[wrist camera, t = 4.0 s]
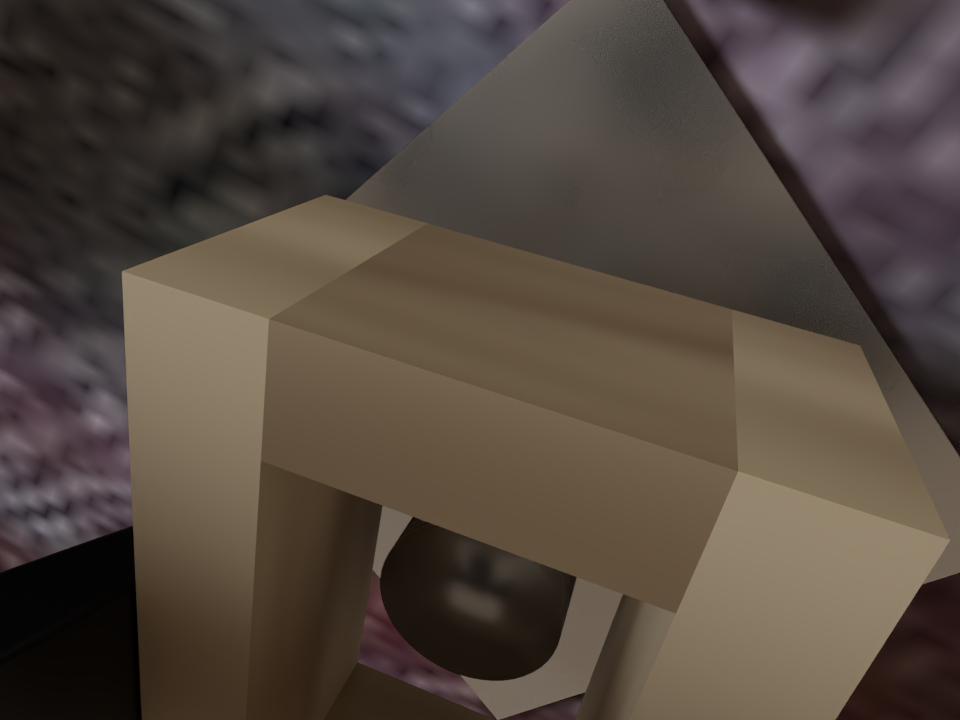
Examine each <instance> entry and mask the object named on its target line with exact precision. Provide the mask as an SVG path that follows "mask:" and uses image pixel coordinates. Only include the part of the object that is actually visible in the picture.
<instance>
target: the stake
mask: <svg viewBox="0 0 960 720" xmlns="http://www.w3.org/2000/svg"><path fill="white" fill-rule="evenodd" d="M346 201H350V202H353V203H357V204H360V205H364V206H367V207H371V208H374V209H378V210H382V211H385V212H389V213H392V214H396V215H399V216H403V217H406V218H410V219H413V220H417V221H421V222H424V223H428V224H431V225H435V226H438V227H442V228H445V229H449V230H452V231H456V232H460V233H463V234H467V235H470V236H474V237H477V238H481V239H484V240H488V241H491V242H495V243H498V244H502V245H506V246H509V247H513V248H516V249H520V250H523V251H527V252H530V253H534V254H537V255H541V256H545V257H548V258H552V259H555V260H559V261H562V262H566V263H569V264H573V265H576V266H580V267H583V268H587V269H591V270H594V271H598V272H601V273H605V274H608V275H612V276H615V277H619V278H622V279H626V280H630V281H633V282H637V283H640V284H644V285H647V286H651V287H654V288H658V289H661V290H665V291H668V292H672V293H676V294H679V295H683V296H686V297H690V298H693V299H697V300H700V301H704V302H707V303H711V304H715V305H718V306H722V307H725V308H729V309H732V310H736V311H739V312H743V313H746V314H750V315H753V316H757V317H761V318H764V319H768V320H771V321H775V322H778V323H782V324H785V325H789V326H792V327H796V328H800V329H803V330H807V331H810V332H814V333H817V334H821V335H824V336H828V337H831V338H835V339H838V340H842V341H846V342H849V343H853V344H856V345H860V346H861V349H862V351H863V353H864V355H865V357H866V359H867V362H868V364H869V366H870V368H871V370H872V372H873V374H874V377H875V379H876V381H877V383H878V385H879V387H880V390H881V392H882V394H883V396H884V398H885V400H886V403H887V405H888V407H889V409H890V411H891V413H892V415H893V418H894V420H895V422H896V424H897V426H898V428H899V431H900V433H901V435H902V437H903V439H904V441H905V444H906V446H907V448H908V450H909V452H910V454H911V456H912V459H913V461H914V463H915V465H916V467H917V469H918V472H919V474H920V476H921V478H922V480H923V482H924V485H925V487H926V489H927V491H928V493H929V495H930V497H931V500H932V502H933V504H934V506H935V508H936V510H937V513H938V515H939V517H940V519H941V521H942V523H943V526H944V528H945V530H946V532H947V534H948V536H949V538H950V542H949V543H948V545H947V546H946V548H945V549H944V551H943V552H942V554H941V556H940V557H939V559H938V560H937V562H936V563H935V565H934V567H933V568H932V570H931V571H930V573H929V574H928V576H927V577H926V579H925V581H924V582H923V584H925V583H929V582H932V581H935V580H938V579H941V578H944V577H947V576H950V575H954V574H957V573H960V456H959V454H958V452H957V451H956V449H955V448H954V446H953V445H952V443H951V442H950V440H949V439H948V437H947V436H946V434H945V432H944V431H943V429H942V428H941V426H940V425H939V423H938V422H937V420H936V419H935V417H934V415H933V414H932V412H931V411H930V409H929V408H928V406H927V405H926V403H925V402H924V400H923V399H922V397H921V395H920V394H919V392H918V391H917V389H916V388H915V386H914V385H913V383H912V382H911V380H910V379H909V377H908V375H907V374H906V372H905V371H904V369H903V368H902V366H901V365H900V363H899V362H898V360H897V358H896V357H895V355H894V354H893V352H892V351H891V349H890V348H889V346H888V345H887V343H886V342H885V340H884V338H883V337H882V335H881V334H880V332H879V331H878V329H877V328H876V326H875V325H874V323H873V322H872V320H871V318H870V317H869V315H868V314H867V312H866V311H865V309H864V308H863V306H862V305H861V303H860V301H859V300H858V298H857V297H856V295H855V294H854V292H853V291H852V289H851V288H850V286H849V285H848V283H847V281H846V280H845V278H844V277H843V275H842V274H841V272H840V271H839V269H838V268H837V266H836V265H835V263H834V261H833V260H832V258H831V257H830V255H829V254H828V252H827V251H826V249H825V248H824V246H823V244H822V243H821V241H820V240H819V238H818V237H817V235H816V234H815V232H814V231H813V229H812V228H811V226H810V224H809V223H808V221H807V220H806V218H805V217H804V215H803V214H802V212H801V211H800V209H799V207H798V206H797V204H796V203H795V201H794V200H793V198H792V197H791V195H790V194H789V192H788V191H787V189H786V187H785V186H784V184H783V183H782V181H781V180H780V178H779V177H778V175H777V174H776V172H775V171H774V169H773V167H772V166H771V164H770V163H769V161H768V160H767V158H766V157H765V155H764V154H763V152H762V150H761V149H760V147H759V146H758V144H757V143H756V141H755V140H754V138H753V137H752V135H751V134H750V132H749V130H748V129H747V127H746V126H745V124H744V123H743V121H742V120H741V118H740V117H739V115H738V114H737V112H736V110H735V109H734V107H733V106H732V104H731V103H730V101H729V100H728V98H727V97H726V95H725V93H724V92H723V90H722V89H721V87H720V86H719V84H718V83H717V81H716V80H715V78H714V77H713V75H712V73H711V72H710V70H709V69H708V67H707V66H706V64H705V63H704V61H703V60H702V58H701V57H700V55H699V53H698V52H697V50H696V49H695V47H694V46H693V44H692V43H691V41H690V40H689V38H688V36H687V35H686V33H685V32H684V30H683V29H682V27H681V26H680V24H679V23H678V21H677V20H676V18H675V16H674V15H673V13H672V12H671V10H670V9H669V7H668V6H667V4H666V3H665V1H664V0H570V1H569V2H568V3H566V4H565V5H564V6H563V7H562V8H561V9H560V10H559V11H557V12H556V13H555V14H554V15H553V16H552V17H551V18H550V19H548V20H547V21H546V22H545V23H544V24H543V25H542V26H541V27H539V28H538V29H537V30H536V31H535V32H534V33H533V34H532V35H530V36H529V37H528V38H527V39H526V40H525V41H524V42H523V43H521V44H520V45H519V46H518V47H517V48H516V49H515V50H514V51H512V52H511V53H510V54H509V55H508V56H507V57H506V58H505V59H503V60H502V61H501V62H500V63H499V64H498V65H497V66H496V67H494V68H493V69H492V70H491V71H490V72H489V73H488V74H487V75H486V76H484V77H483V78H482V79H481V80H480V81H479V82H478V83H477V84H475V85H474V86H473V87H472V88H471V89H470V90H469V91H468V92H466V93H465V94H464V95H463V96H462V97H461V98H460V99H459V100H457V101H456V102H455V103H454V104H453V105H452V106H451V107H450V108H448V109H447V110H446V111H445V112H444V113H443V114H442V115H441V116H439V117H438V118H437V119H436V120H435V121H434V122H433V123H432V124H430V125H429V126H428V127H427V128H426V129H425V130H424V131H423V132H421V133H420V134H419V135H418V136H417V137H416V138H415V139H414V140H412V141H411V142H410V143H409V144H408V145H407V146H406V147H405V148H403V149H402V150H401V151H400V152H399V153H398V154H397V155H396V156H394V157H393V158H392V159H391V160H390V161H389V162H388V163H387V164H385V165H384V166H383V167H382V168H381V169H380V170H379V171H378V172H376V173H375V174H374V175H373V176H372V177H371V178H370V179H369V180H367V181H366V182H365V183H364V184H363V185H362V186H361V187H360V188H358V189H357V190H356V191H355V192H354V193H353V194H352V195H351V196H349V197H348V198H347V199H346ZM373 570H374V571H375V573H376V574H377V575H378V576H379V577H380V590H381V596H382V601H383V604H384V607H385V610H386V612H387V614H388V616H389V618H390V620H391V621H392V623H393V625H394V626H395V628H396V629H397V631H398V632H399V633H400V634H401V636H402V637H403V638H404V639H405V640H406V641H407V642H408V643H409V644H410V645H411V646H412V647H413V648H414V649H415V650H416V651H417V652H419V653H420V654H421V655H423V656H424V657H425V658H427V659H428V660H430V661H432V662H433V663H435V664H436V665H438V666H440V667H442V668H444V669H446V670H448V671H451V672H454V673H456V674H459V675H461V676H462V677H463V679H464V680H465V681H466V682H467V684H468V685H469V686H470V687H471V688H472V690H473V691H474V692H475V693H476V694H477V696H478V697H479V698H480V699H481V700H482V702H483V703H484V704H485V705H486V706H487V708H488V709H489V710H490V711H491V712H492V714H493V715H494V716H495V717H496V718H497V720H499V719H503V718H506V717H509V716H512V715H515V714H518V713H521V712H524V711H528V710H531V709H534V708H537V707H540V706H543V705H546V704H550V703H553V702H556V701H559V700H562V699H565V698H568V697H571V696H575V695H578V694H581V693H584V692H586V689H587V687H588V684H589V681H590V679H591V676H592V674H593V671H594V668H595V666H596V663H597V660H598V658H599V655H600V653H601V650H602V647H603V645H604V642H605V640H606V637H607V634H608V632H609V629H610V627H611V624H612V621H613V619H614V616H615V613H616V611H617V608H618V606H619V603H620V600H621V598H622V595H623V594H621V593H619V592H616V591H613V590H610V589H608V588H605V587H602V586H600V585H597V584H594V583H591V582H589V581H586V580H583V579H581V578H578V577H575V576H572V575H570V574H567V573H564V572H562V571H559V570H556V569H553V568H551V567H548V566H545V565H543V564H540V563H537V562H534V561H532V560H529V559H526V558H524V557H521V556H518V555H515V554H513V553H510V552H507V551H505V550H502V549H499V548H496V547H494V546H491V545H488V544H486V543H483V542H480V541H477V540H475V539H472V538H469V537H467V536H464V535H461V534H458V533H456V532H453V531H450V530H448V529H445V528H442V527H439V526H437V525H434V524H431V523H429V522H426V521H423V520H420V519H418V518H415V517H412V516H410V515H407V514H404V513H401V512H399V511H396V510H393V509H391V508H388V507H385V506H383V507H382V513H381V519H380V525H379V532H378V538H377V544H376V551H375V557H374V563H373Z"/></svg>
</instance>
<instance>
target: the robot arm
mask: <svg viewBox="0 0 960 720" xmlns="http://www.w3.org/2000/svg"><path fill="white" fill-rule="evenodd" d="M0 720H142V714H141V691H140V669H139V647H138V624H137V602H136V579H135V557H134V535H133V526H130V527H127V528H124V529H122V530H119V531H116V532H113V533H110V534H107V535H105V536H102V537H99V538H96V539H93V540H91V541H88V542H85V543H82V544H79V545H76V546H74V547H71V548H68V549H65V550H62V551H59V552H57V553H54V554H51V555H48V556H45V557H42V558H40V559H37V560H34V561H31V562H28V563H26V564H23V565H20V566H17V567H14V568H11V569H9V570H6V571H3V572H0Z"/></svg>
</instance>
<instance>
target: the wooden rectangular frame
mask: <svg viewBox="0 0 960 720" xmlns="http://www.w3.org/2000/svg"><path fill="white" fill-rule="evenodd" d="M122 288H123V311H124V333H125V356H126V378H127V400H128V423H129V445H130V467H131V490H132V512H133V535H134V557H135V579H136V602H137V624H138V647H139V669H140V691H141V714H142V720H495V719H492V718H490V717H488V716H485V715H483V714H480V713H478V712H476V711H473V710H471V709H468V708H466V707H464V706H461V705H459V704H456V703H454V702H452V701H449V700H447V699H444V698H442V697H440V696H437V695H435V694H432V693H430V692H428V691H425V690H423V689H420V688H418V687H416V686H413V685H411V684H408V683H406V682H404V681H401V680H399V679H396V678H394V677H392V676H389V675H387V674H384V673H382V672H380V671H377V670H375V669H372V668H370V667H368V666H365V665H363V664H360V663H358V657H359V651H360V645H361V638H362V632H363V626H364V620H365V613H366V607H367V601H368V594H369V588H370V582H371V576H372V569H373V563H374V557H375V551H376V544H377V538H378V532H379V525H380V519H381V513H382V507H383V506H385V507H388V508H391V509H393V510H396V511H399V512H401V513H404V514H407V515H410V516H412V517H415V518H418V519H420V520H423V521H426V522H429V523H431V524H434V525H437V526H439V527H442V528H445V529H448V530H450V531H453V532H456V533H458V534H461V535H464V536H467V537H469V538H472V539H475V540H477V541H480V542H483V543H486V544H488V545H491V546H494V547H496V548H499V549H502V550H505V551H507V552H510V553H513V554H515V555H518V556H521V557H524V558H526V559H529V560H532V561H534V562H537V563H540V564H543V565H545V566H548V567H551V568H553V569H556V570H559V571H562V572H564V573H567V574H570V575H572V576H575V577H578V578H581V579H583V580H586V581H589V582H591V583H594V584H597V585H600V586H602V587H605V588H608V589H610V590H613V591H616V592H619V593H621V594H623V595H622V598H621V600H620V603H619V606H618V608H617V611H616V613H615V616H614V619H613V621H612V624H611V627H610V629H609V632H608V634H607V637H606V640H605V642H604V645H603V647H602V650H601V653H600V655H599V658H598V660H597V663H596V666H595V668H594V671H593V674H592V676H591V679H590V681H589V684H588V687H587V689H586V692H585V694H584V697H583V700H582V702H581V705H580V708H579V710H578V713H577V715H576V718H575V720H836V718H837V717H838V715H839V713H840V712H841V710H842V709H843V707H844V706H845V704H846V702H847V701H848V699H849V698H850V696H851V695H852V693H853V692H854V690H855V688H856V687H857V685H858V684H859V682H860V681H861V679H862V677H863V676H864V674H865V673H866V671H867V670H868V668H869V667H870V665H871V663H872V662H873V660H874V659H875V657H876V656H877V654H878V652H879V651H880V649H881V648H882V646H883V645H884V643H885V642H886V640H887V638H888V637H889V635H890V634H891V632H892V631H893V629H894V627H895V626H896V624H897V623H898V621H899V620H900V618H901V617H902V615H903V613H904V612H905V610H906V609H907V607H908V606H909V604H910V602H911V601H912V599H913V598H914V596H915V595H916V593H917V592H918V590H919V588H920V587H921V585H922V584H923V582H924V581H925V579H926V577H927V576H928V574H929V573H930V571H931V570H932V568H933V567H934V565H935V563H936V562H937V560H938V559H939V557H940V556H941V554H942V552H943V551H944V549H945V548H946V546H947V545H948V543H949V542H950V538H949V536H948V534H947V532H946V530H945V528H944V526H943V523H942V521H941V519H940V517H939V515H938V513H937V510H936V508H935V506H934V504H933V502H932V500H931V497H930V495H929V493H928V491H927V489H926V487H925V485H924V482H923V480H922V478H921V476H920V474H919V472H918V469H917V467H916V465H915V463H914V461H913V459H912V456H911V454H910V452H909V450H908V448H907V446H906V444H905V441H904V439H903V437H902V435H901V433H900V431H899V428H898V426H897V424H896V422H895V420H894V418H893V415H892V413H891V411H890V409H889V407H888V405H887V403H886V400H885V398H884V396H883V394H882V392H881V390H880V387H879V385H878V383H877V381H876V379H875V377H874V374H873V372H872V370H871V368H870V366H869V364H868V362H867V359H866V357H865V355H864V353H863V351H862V349H861V346H860V345H856V344H853V343H849V342H846V341H842V340H838V339H835V338H831V337H828V336H824V335H821V334H817V333H814V332H810V331H807V330H803V329H800V328H796V327H792V326H789V325H785V324H782V323H778V322H775V321H771V320H768V319H764V318H761V317H757V316H753V315H750V314H746V313H743V312H739V311H736V310H732V309H729V308H725V307H722V306H718V305H715V304H711V303H707V302H704V301H700V300H697V299H693V298H690V297H686V296H683V295H679V294H676V293H672V292H668V291H665V290H661V289H658V288H654V287H651V286H647V285H644V284H640V283H637V282H633V281H630V280H626V279H622V278H619V277H615V276H612V275H608V274H605V273H601V272H598V271H594V270H591V269H587V268H583V267H580V266H576V265H573V264H569V263H566V262H562V261H559V260H555V259H552V258H548V257H545V256H541V255H537V254H534V253H530V252H527V251H523V250H520V249H516V248H513V247H509V246H506V245H502V244H498V243H495V242H491V241H488V240H484V239H481V238H477V237H474V236H470V235H467V234H463V233H460V232H456V231H452V230H449V229H445V228H442V227H438V226H435V225H431V224H428V223H424V222H421V221H417V220H413V219H410V218H406V217H403V216H399V215H396V214H392V213H389V212H385V211H382V210H378V209H374V208H371V207H367V206H364V205H360V204H357V203H353V202H350V201H346V200H343V199H339V198H336V197H332V196H328V195H324V196H321V197H318V198H316V199H313V200H310V201H308V202H305V203H302V204H300V205H297V206H294V207H292V208H289V209H286V210H284V211H281V212H278V213H276V214H273V215H270V216H268V217H265V218H262V219H260V220H257V221H254V222H252V223H249V224H246V225H244V226H241V227H238V228H236V229H233V230H230V231H228V232H225V233H222V234H220V235H217V236H214V237H212V238H209V239H206V240H204V241H201V242H198V243H196V244H193V245H190V246H188V247H185V248H182V249H180V250H177V251H174V252H172V253H169V254H166V255H164V256H161V257H158V258H156V259H153V260H150V261H148V262H145V263H142V264H140V265H137V266H134V267H132V268H129V269H126V270H124V271H122Z"/></svg>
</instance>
